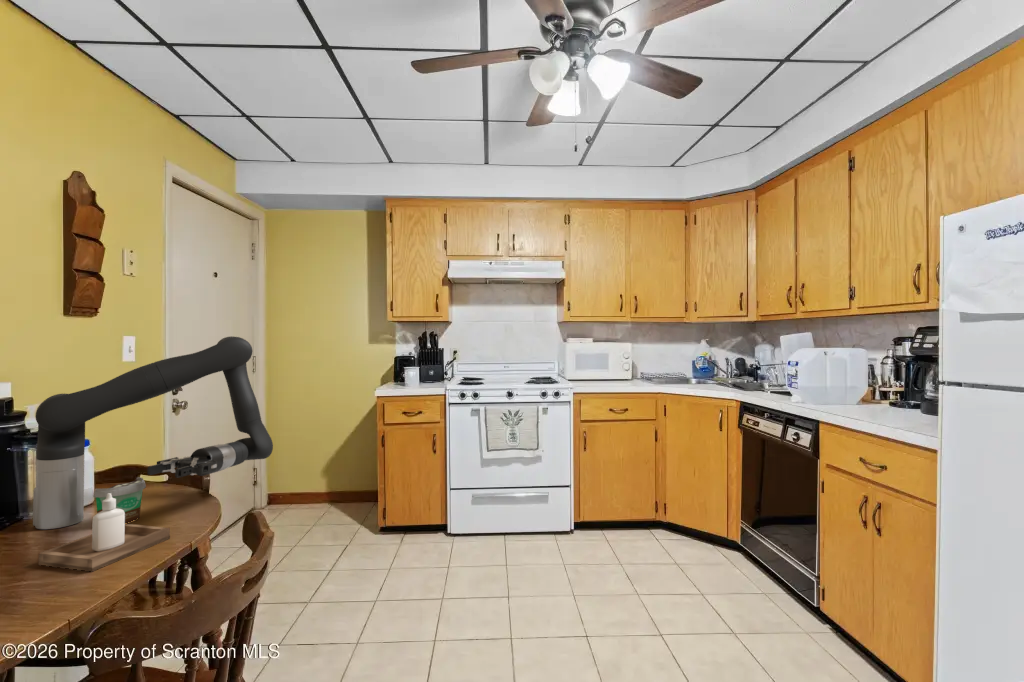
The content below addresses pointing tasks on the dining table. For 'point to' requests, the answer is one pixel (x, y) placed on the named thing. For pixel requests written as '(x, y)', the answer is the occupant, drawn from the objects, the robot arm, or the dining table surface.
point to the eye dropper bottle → (108, 526)
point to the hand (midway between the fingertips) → (162, 472)
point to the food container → (124, 498)
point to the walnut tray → (87, 559)
